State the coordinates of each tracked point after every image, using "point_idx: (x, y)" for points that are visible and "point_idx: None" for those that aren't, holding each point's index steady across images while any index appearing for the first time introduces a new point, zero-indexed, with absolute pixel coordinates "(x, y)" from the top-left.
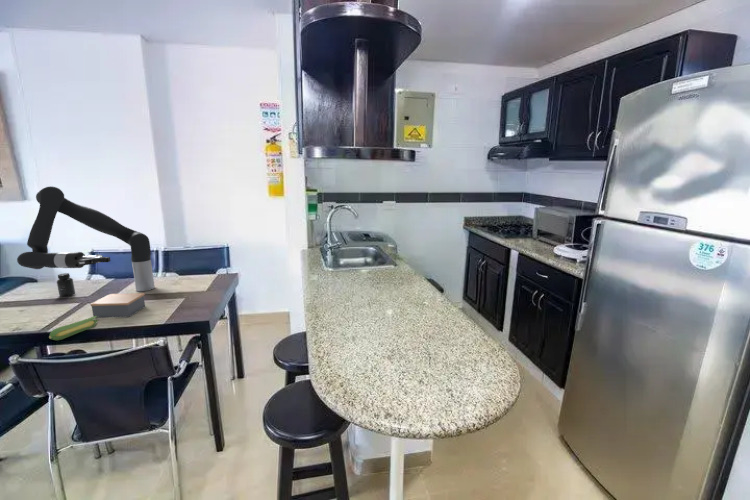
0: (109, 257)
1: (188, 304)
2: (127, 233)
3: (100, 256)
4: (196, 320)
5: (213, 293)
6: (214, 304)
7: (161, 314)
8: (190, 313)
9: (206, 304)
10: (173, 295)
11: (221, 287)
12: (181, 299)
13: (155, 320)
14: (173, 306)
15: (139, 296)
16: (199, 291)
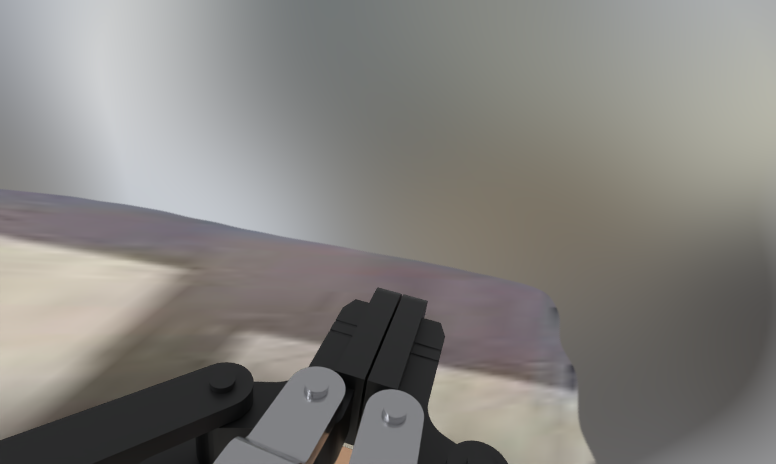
0: (387, 290)
1: None
2: None
3: (318, 380)
4: (548, 308)
5: (247, 255)
6: (394, 263)
7: (459, 407)
8: (473, 320)
9: (383, 279)
10: (148, 375)
11: (176, 231)
12: (258, 343)
13: (536, 423)
14: None
15: (351, 451)
16: (172, 286)
